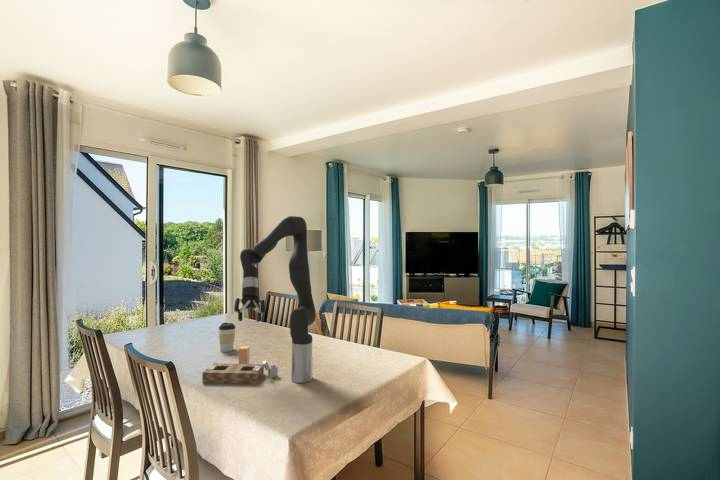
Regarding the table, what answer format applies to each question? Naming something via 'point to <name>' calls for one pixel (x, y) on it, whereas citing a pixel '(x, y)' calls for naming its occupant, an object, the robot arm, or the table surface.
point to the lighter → (271, 370)
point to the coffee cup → (226, 336)
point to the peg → (244, 354)
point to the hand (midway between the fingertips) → (249, 321)
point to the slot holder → (233, 373)
